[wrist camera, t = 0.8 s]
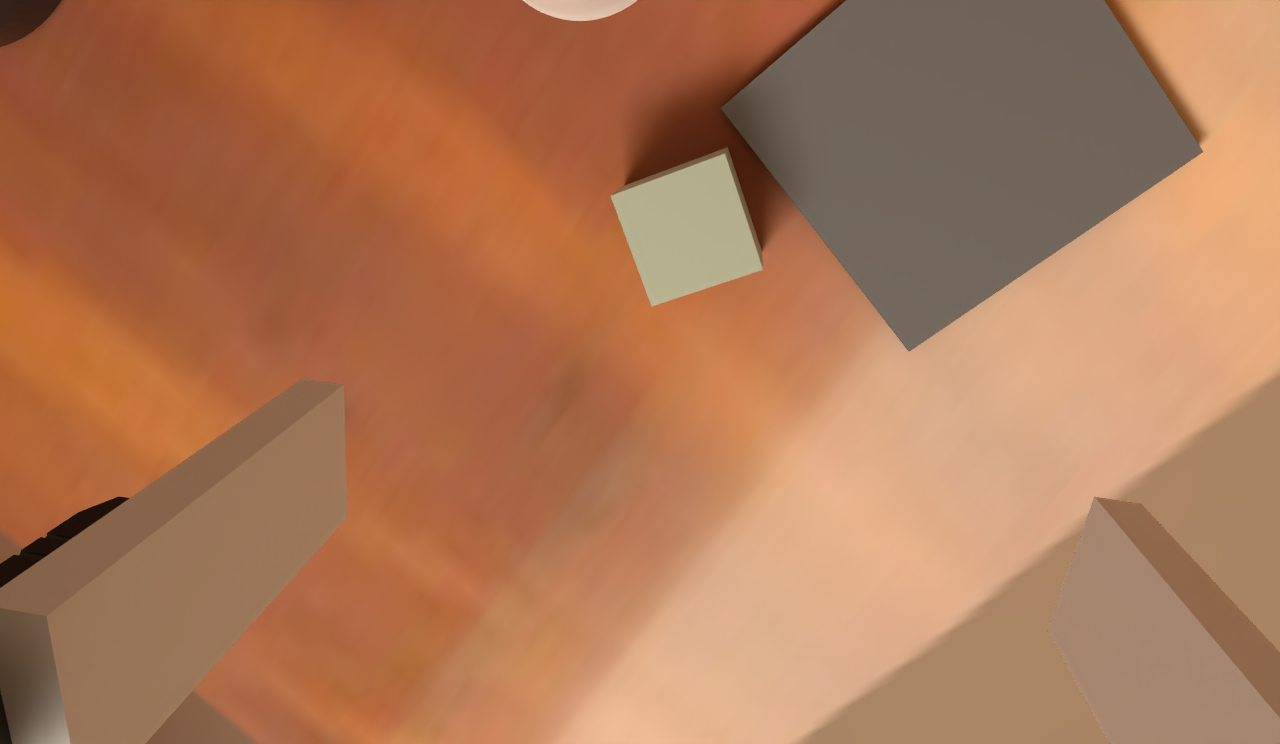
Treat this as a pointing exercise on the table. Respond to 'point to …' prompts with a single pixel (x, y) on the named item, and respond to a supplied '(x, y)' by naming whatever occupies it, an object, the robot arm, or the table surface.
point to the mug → (580, 8)
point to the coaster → (958, 141)
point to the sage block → (689, 227)
